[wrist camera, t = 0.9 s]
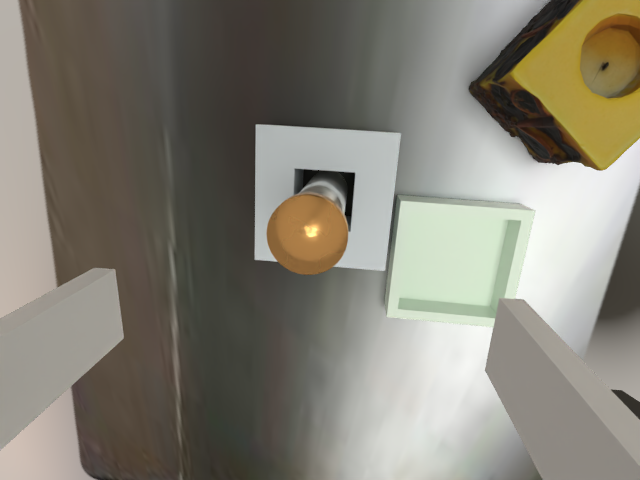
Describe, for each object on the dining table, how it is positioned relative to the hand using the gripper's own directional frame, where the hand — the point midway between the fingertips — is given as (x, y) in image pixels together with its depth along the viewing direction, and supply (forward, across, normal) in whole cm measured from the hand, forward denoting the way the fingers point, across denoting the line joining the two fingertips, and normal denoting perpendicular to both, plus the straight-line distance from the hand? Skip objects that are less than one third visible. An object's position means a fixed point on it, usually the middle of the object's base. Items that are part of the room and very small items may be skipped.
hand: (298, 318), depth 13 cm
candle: (+27, +18, +11) cm, 34 cm away
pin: (+27, -1, 0) cm, 27 cm away
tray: (+27, +12, -6) cm, 30 cm away
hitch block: (+27, -1, 0) cm, 27 cm away
